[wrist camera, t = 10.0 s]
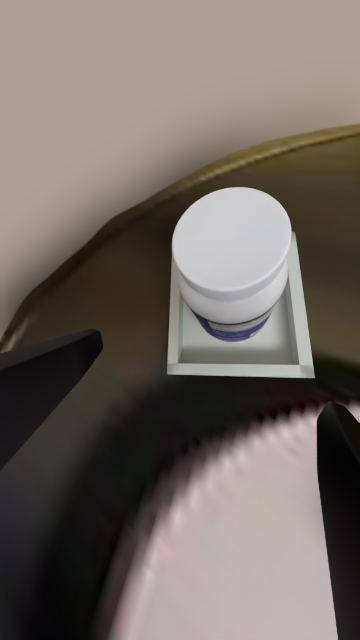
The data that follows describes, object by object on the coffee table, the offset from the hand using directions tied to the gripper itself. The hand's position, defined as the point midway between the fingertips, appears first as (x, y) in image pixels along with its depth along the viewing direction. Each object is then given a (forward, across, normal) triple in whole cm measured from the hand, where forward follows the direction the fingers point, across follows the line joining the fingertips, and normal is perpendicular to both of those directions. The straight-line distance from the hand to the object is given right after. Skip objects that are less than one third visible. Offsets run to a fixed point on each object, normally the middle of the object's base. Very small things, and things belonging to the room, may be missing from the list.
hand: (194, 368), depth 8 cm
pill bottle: (+10, 0, +2) cm, 11 cm away
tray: (+11, 0, +3) cm, 11 cm away
